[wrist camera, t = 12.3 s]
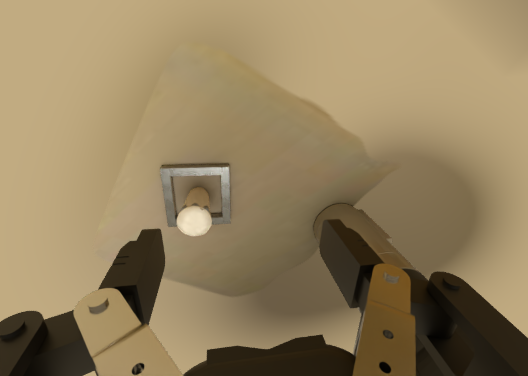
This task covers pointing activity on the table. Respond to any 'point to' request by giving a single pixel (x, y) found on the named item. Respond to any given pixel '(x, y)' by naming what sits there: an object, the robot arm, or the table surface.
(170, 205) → the grey square frame
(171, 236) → the table surface
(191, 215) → the milkshake
